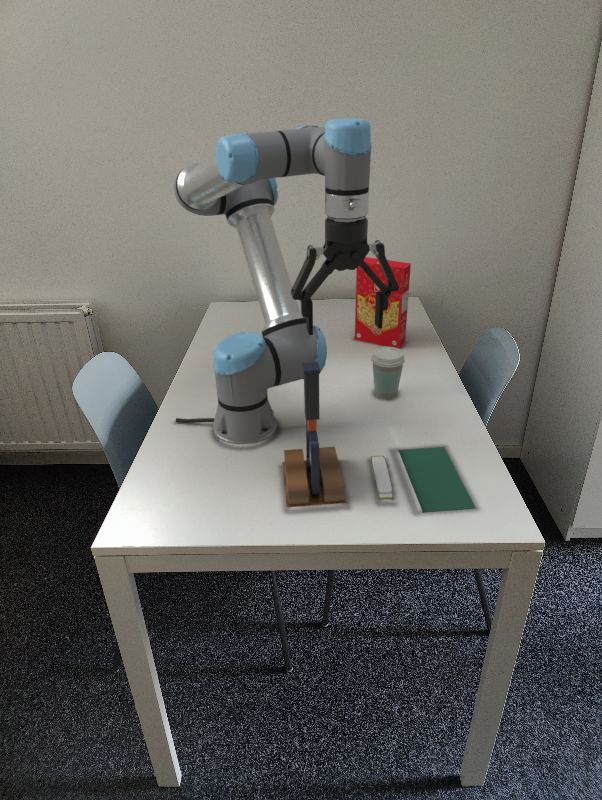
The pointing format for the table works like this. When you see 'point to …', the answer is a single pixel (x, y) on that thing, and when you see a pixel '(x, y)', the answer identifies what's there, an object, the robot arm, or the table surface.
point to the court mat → (435, 480)
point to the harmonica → (382, 477)
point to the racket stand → (299, 480)
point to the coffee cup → (387, 371)
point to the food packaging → (392, 317)
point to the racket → (312, 423)
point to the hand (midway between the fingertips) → (344, 329)
